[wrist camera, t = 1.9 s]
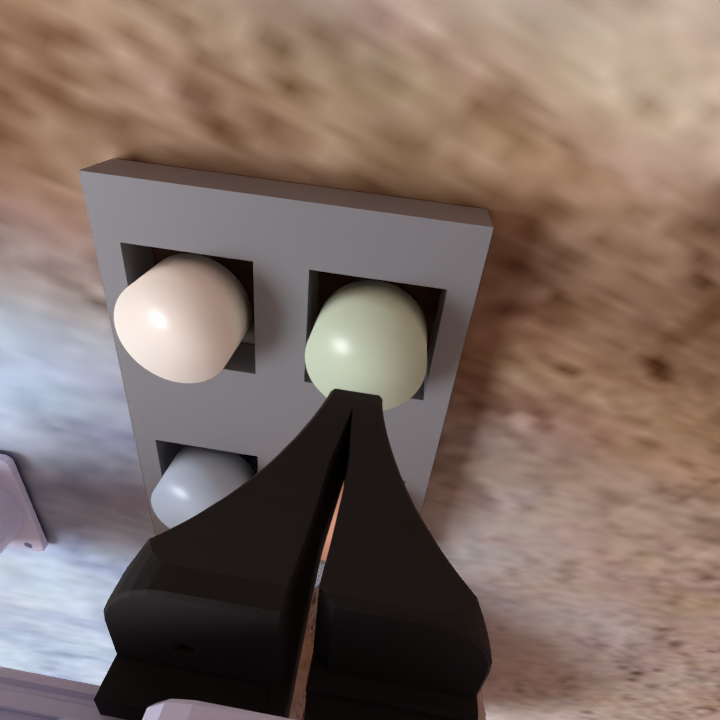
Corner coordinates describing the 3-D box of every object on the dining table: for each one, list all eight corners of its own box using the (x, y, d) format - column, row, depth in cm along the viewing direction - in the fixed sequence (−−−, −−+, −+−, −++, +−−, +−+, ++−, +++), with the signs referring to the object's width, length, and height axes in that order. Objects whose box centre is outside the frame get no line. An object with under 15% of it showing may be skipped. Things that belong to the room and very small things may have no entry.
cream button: (154, 342, 19) (124, 373, 17) (138, 246, 17) (103, 269, 15) (252, 358, 19) (233, 391, 17) (250, 262, 17) (227, 288, 15)
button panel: (172, 503, 27) (154, 533, 25) (113, 158, 17) (79, 170, 15) (405, 543, 26) (404, 577, 24) (487, 209, 16) (493, 227, 15)
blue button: (178, 496, 24) (157, 533, 22) (168, 436, 22) (144, 472, 20) (256, 509, 24) (242, 548, 22) (255, 450, 22) (238, 487, 20)
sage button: (315, 367, 19) (302, 402, 17) (320, 272, 17) (307, 300, 15) (417, 383, 19) (415, 420, 17) (436, 289, 16) (437, 319, 15)
